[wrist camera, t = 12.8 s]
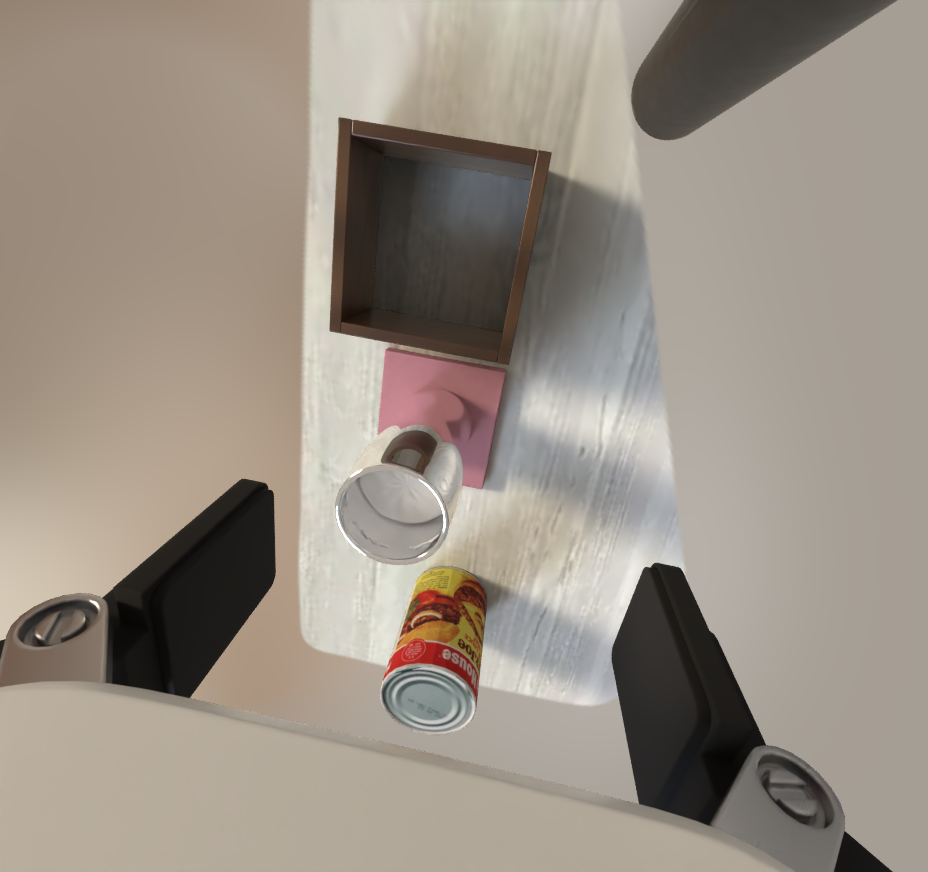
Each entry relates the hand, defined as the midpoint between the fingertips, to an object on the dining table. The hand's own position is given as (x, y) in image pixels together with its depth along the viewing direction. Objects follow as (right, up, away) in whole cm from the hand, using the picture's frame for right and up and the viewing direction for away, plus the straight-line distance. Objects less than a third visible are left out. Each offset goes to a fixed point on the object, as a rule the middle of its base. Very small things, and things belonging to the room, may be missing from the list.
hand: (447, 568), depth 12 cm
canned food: (-1, -13, +37) cm, 39 cm away
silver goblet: (-2, +5, +28) cm, 29 cm away
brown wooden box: (-1, +18, +24) cm, 30 cm away
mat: (-2, +5, +29) cm, 30 cm away
